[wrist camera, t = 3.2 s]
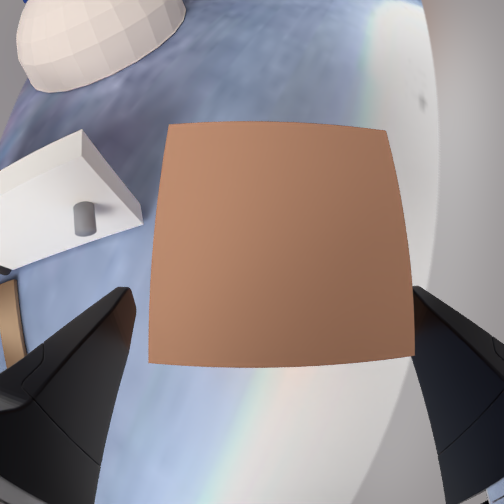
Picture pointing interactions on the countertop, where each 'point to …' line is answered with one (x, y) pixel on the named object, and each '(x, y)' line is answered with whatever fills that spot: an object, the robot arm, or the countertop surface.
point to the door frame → (11, 321)
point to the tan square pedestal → (279, 248)
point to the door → (61, 201)
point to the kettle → (90, 38)
